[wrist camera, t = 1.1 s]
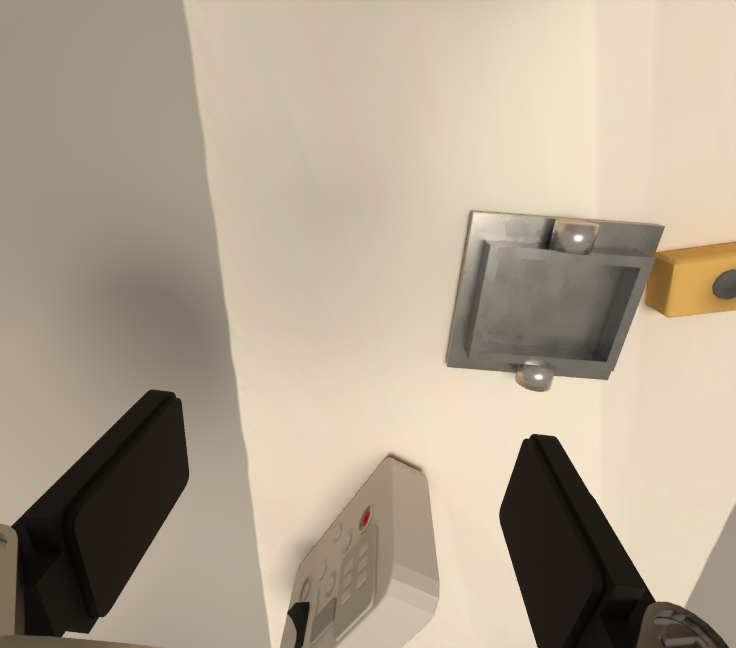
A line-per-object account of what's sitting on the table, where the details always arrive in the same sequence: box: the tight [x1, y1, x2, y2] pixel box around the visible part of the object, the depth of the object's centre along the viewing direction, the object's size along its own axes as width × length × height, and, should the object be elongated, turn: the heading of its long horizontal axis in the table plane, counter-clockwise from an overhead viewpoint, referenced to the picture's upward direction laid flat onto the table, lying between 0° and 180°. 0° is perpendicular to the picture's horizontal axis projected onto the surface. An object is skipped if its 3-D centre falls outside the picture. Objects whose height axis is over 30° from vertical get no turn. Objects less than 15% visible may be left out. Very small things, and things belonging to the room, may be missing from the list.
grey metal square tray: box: [446, 211, 665, 392], centre depth 39 cm, size 17×18×5 cm
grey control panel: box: [280, 457, 439, 648], centre depth 48 cm, size 29×8×18 cm, turn 150°
